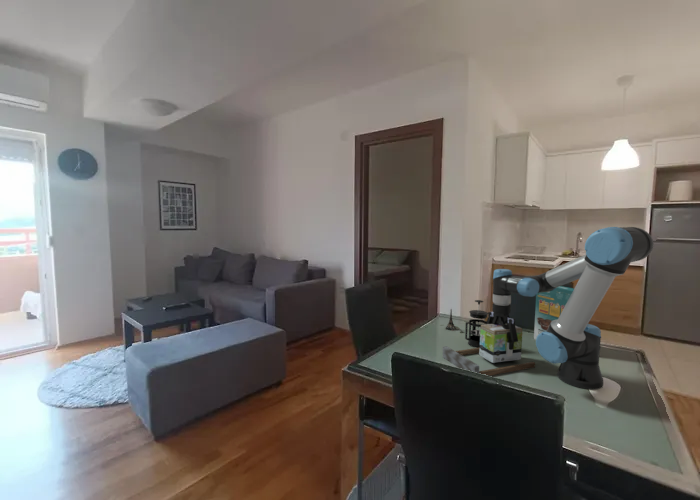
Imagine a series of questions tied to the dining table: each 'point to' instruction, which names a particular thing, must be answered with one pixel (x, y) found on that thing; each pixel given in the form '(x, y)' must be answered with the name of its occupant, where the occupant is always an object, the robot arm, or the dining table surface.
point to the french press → (475, 337)
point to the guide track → (465, 363)
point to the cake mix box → (549, 307)
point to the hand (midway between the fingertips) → (500, 351)
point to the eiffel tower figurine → (452, 325)
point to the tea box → (498, 343)
